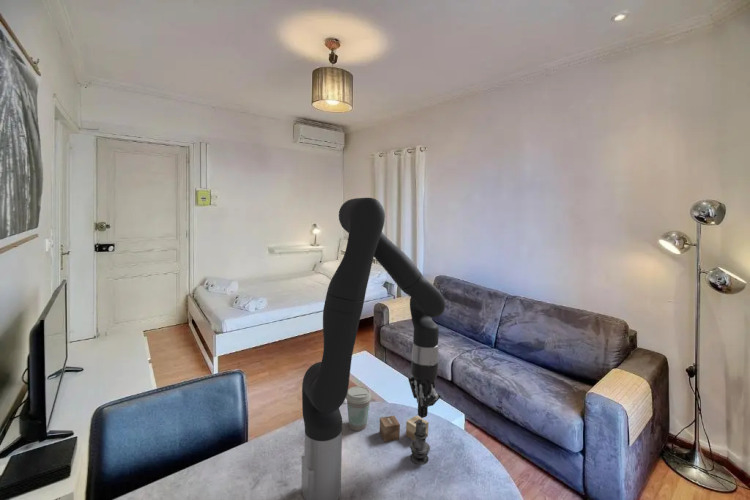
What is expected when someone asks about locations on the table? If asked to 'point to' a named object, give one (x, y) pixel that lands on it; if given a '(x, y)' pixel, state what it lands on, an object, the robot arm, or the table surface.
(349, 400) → the coffee cup
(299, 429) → the table surface
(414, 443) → the black chess piece
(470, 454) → the table surface
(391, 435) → the walnut block digit
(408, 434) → the beech block digit
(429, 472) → the table surface
